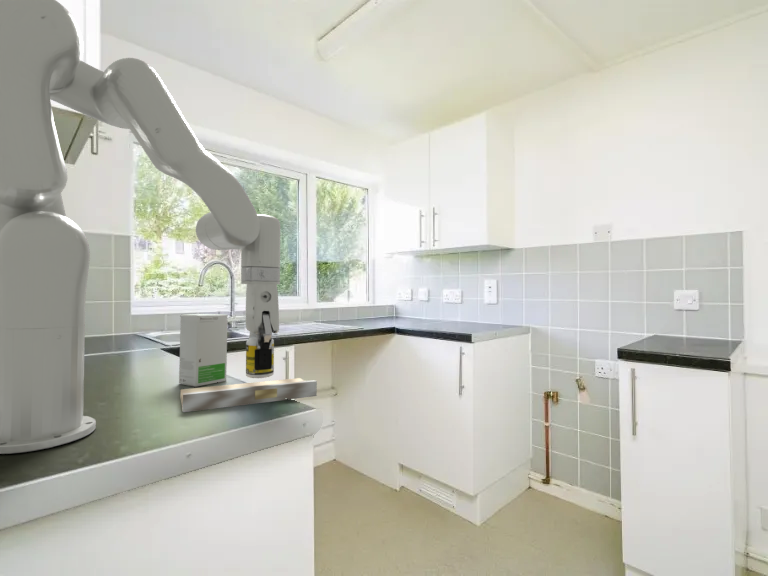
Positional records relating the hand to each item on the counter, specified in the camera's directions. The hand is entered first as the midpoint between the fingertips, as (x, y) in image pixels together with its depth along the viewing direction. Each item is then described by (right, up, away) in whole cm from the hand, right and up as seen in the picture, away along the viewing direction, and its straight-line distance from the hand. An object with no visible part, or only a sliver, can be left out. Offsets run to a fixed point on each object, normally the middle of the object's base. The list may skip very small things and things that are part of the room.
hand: (259, 365), depth 80 cm
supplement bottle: (0, -2, 0) cm, 2 cm away
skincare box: (-16, -6, +10) cm, 20 cm away
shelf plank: (-2, -6, -1) cm, 6 cm away
